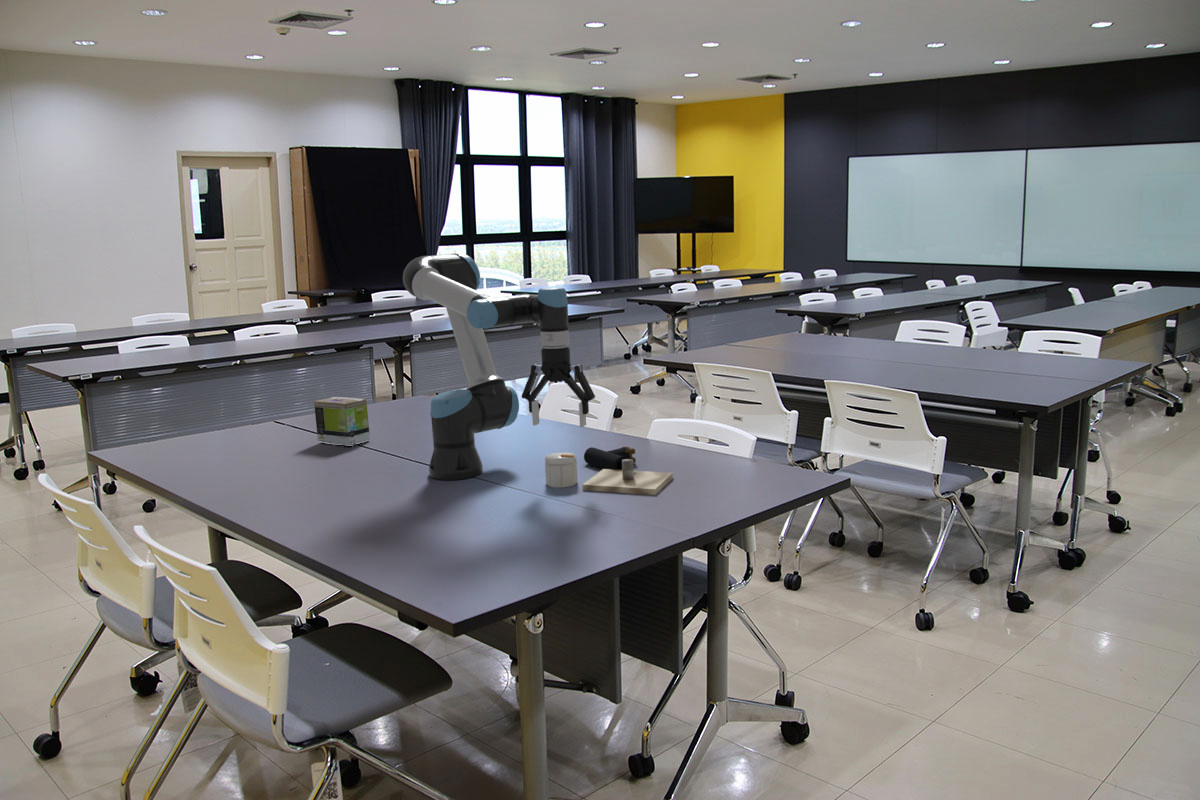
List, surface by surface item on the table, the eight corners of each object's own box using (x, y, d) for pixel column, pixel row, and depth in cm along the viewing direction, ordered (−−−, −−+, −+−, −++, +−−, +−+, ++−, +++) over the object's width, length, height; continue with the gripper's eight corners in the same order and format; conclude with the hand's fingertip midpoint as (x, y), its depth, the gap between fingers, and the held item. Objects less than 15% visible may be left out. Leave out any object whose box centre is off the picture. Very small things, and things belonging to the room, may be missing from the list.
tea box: (371, 441, 318) (367, 398, 315) (348, 448, 310) (344, 403, 307) (339, 437, 326) (335, 395, 323) (316, 444, 318) (312, 400, 315)
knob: (541, 486, 256) (539, 457, 255) (553, 478, 264) (552, 450, 262) (570, 488, 253) (569, 459, 252) (581, 479, 261) (580, 451, 259)
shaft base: (582, 490, 251) (581, 466, 250) (603, 474, 266) (602, 451, 265) (655, 494, 244) (654, 470, 243) (672, 478, 259) (672, 454, 258)
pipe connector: (615, 441, 282) (646, 450, 270) (616, 458, 283) (647, 468, 271) (583, 448, 276) (613, 458, 264) (584, 466, 277) (614, 476, 265)
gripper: (506, 348, 252) (511, 426, 256) (594, 348, 244) (598, 429, 248) (518, 344, 259) (522, 420, 263) (604, 344, 251) (607, 423, 255)
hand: (559, 425), depth 255 cm, fingers open, 13 cm apart
